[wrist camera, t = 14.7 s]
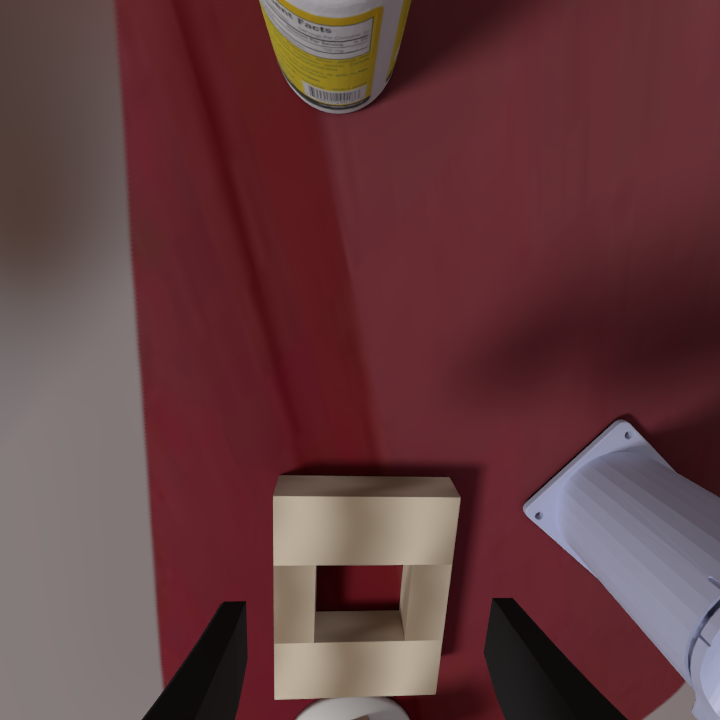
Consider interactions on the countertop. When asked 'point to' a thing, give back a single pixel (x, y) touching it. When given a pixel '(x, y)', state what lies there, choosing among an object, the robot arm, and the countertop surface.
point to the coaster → (353, 709)
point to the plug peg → (362, 718)
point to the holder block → (361, 547)
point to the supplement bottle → (336, 48)
